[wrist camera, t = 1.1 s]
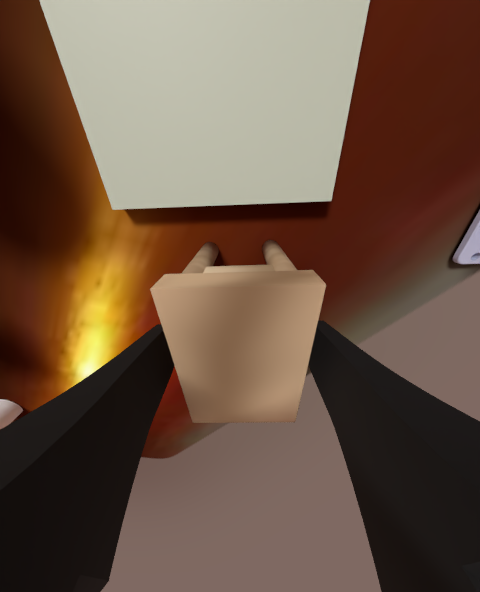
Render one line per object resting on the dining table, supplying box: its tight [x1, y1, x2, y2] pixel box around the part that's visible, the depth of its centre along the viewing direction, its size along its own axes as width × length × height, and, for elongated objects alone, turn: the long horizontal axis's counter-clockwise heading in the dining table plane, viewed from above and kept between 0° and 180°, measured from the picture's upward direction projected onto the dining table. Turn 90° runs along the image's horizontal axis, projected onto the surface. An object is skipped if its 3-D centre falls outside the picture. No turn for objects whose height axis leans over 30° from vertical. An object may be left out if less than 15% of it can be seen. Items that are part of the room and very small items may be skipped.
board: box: [39, 0, 370, 210], centre depth 8 cm, size 12×10×1 cm
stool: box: [150, 240, 326, 423], centre depth 10 cm, size 5×8×7 cm
